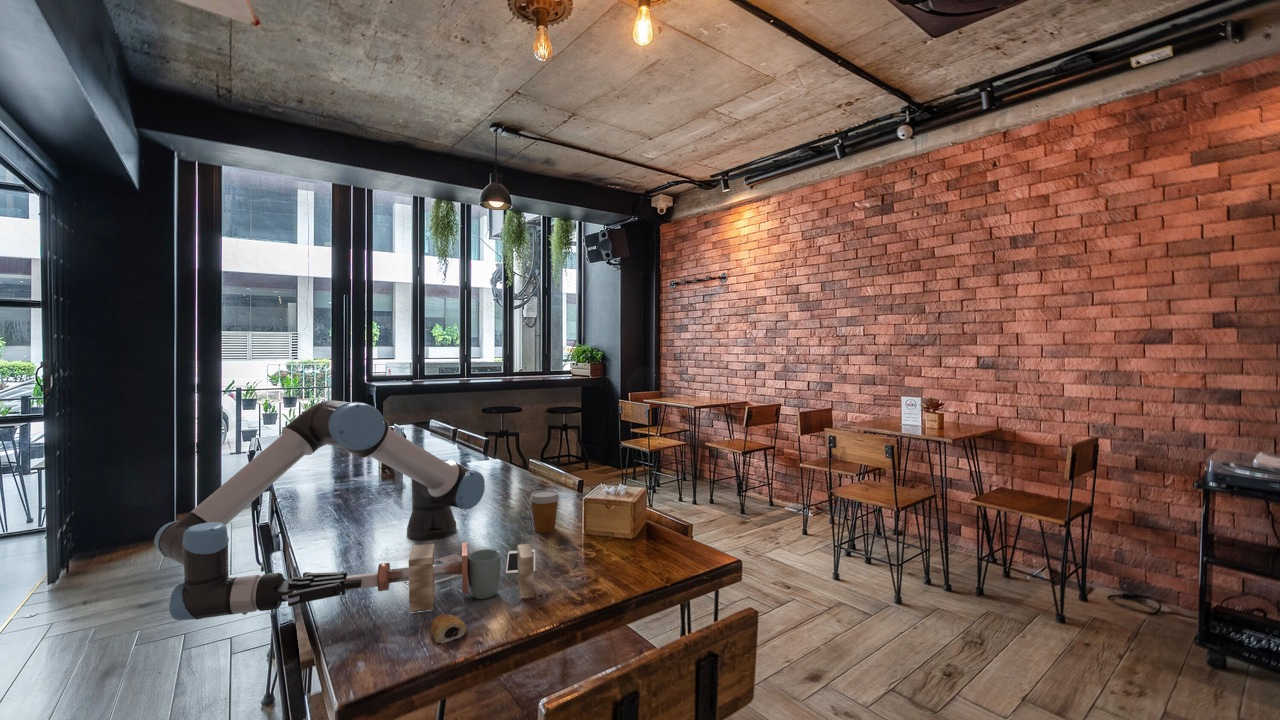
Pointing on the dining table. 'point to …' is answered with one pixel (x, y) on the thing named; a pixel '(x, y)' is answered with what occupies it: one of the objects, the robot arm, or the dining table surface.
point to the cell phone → (514, 562)
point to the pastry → (447, 628)
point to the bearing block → (421, 578)
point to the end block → (525, 571)
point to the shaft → (439, 570)
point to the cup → (484, 573)
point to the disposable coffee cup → (544, 510)
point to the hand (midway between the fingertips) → (377, 579)
